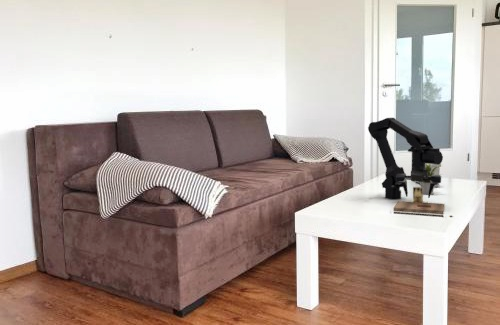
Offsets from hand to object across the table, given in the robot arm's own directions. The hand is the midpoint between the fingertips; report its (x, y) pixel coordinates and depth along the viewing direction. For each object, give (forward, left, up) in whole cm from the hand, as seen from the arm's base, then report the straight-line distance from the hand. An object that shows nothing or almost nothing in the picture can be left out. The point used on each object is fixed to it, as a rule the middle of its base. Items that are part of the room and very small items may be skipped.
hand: (417, 197), depth 203 cm
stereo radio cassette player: (0, +57, -4) cm, 58 cm away
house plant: (+3, +28, -4) cm, 29 cm away
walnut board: (+2, -7, -4) cm, 8 cm away
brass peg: (0, 0, -3) cm, 3 cm away
